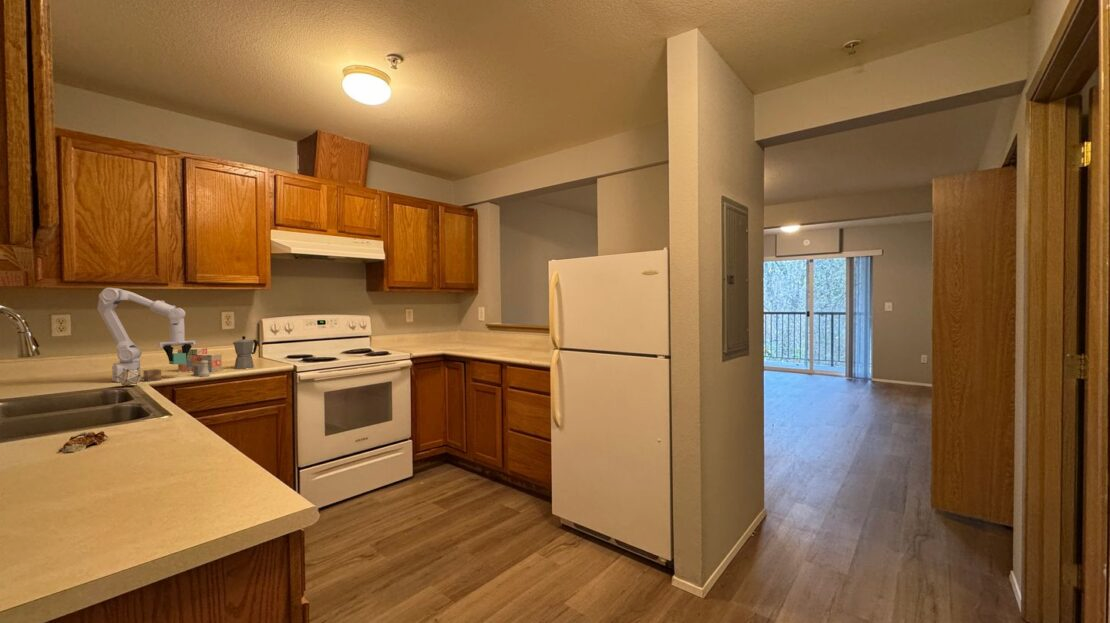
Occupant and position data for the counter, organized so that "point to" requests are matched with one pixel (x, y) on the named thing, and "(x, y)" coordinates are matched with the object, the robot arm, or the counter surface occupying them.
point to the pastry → (82, 441)
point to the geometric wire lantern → (130, 377)
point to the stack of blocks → (197, 356)
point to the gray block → (198, 369)
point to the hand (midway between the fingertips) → (177, 360)
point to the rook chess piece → (204, 369)
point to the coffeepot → (244, 353)
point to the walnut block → (152, 375)
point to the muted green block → (178, 358)
